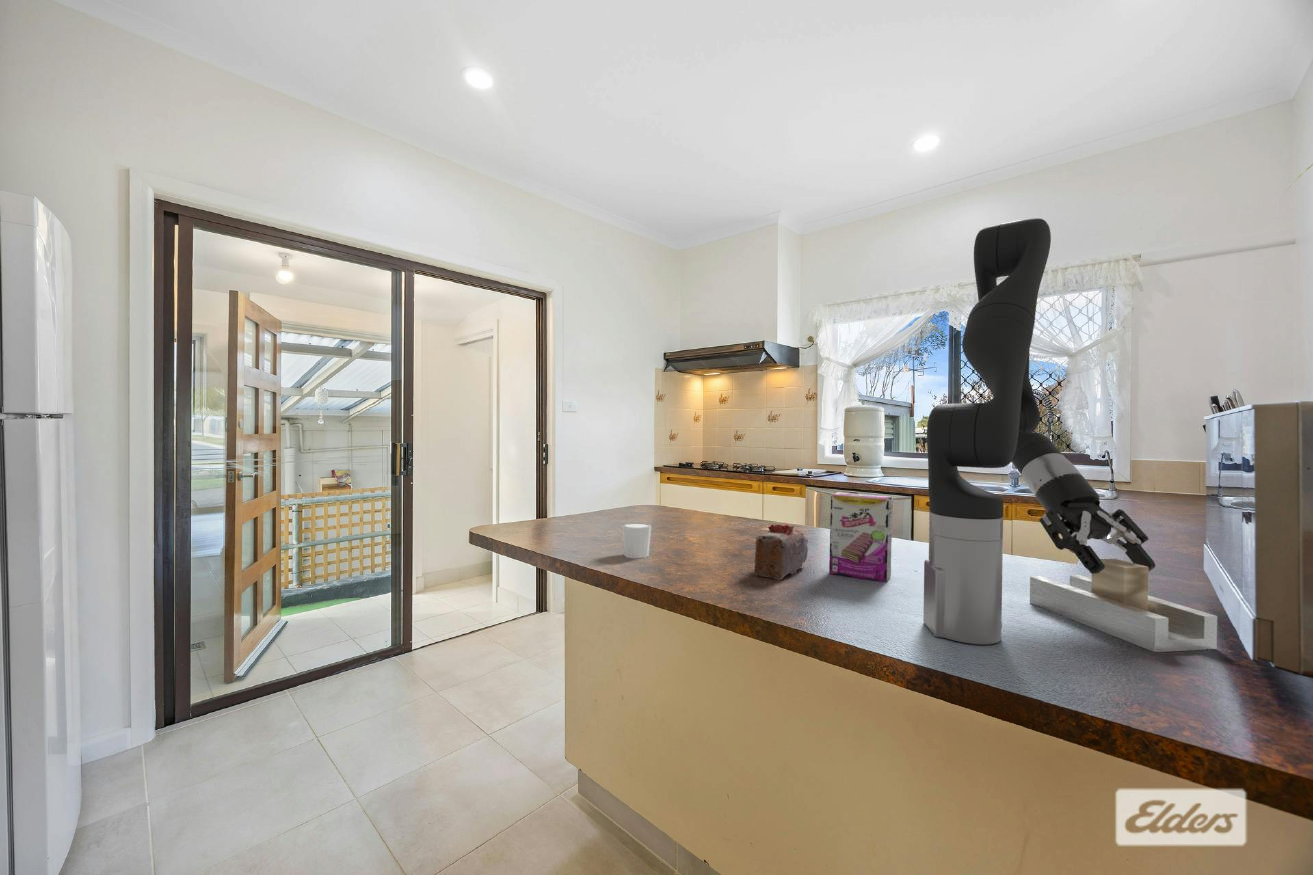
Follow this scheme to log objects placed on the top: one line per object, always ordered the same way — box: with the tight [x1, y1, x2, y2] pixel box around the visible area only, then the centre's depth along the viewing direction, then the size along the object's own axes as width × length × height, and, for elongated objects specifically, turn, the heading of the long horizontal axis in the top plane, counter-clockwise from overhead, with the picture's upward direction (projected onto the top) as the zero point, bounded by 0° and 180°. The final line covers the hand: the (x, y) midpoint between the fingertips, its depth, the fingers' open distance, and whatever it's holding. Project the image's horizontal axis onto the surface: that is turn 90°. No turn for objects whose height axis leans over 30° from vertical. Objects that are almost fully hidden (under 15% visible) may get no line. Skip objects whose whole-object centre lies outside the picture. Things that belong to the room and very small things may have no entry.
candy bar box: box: [828, 491, 894, 583], centre depth 105 cm, size 11×5×16 cm, turn 58°
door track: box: [1029, 574, 1218, 653], centre depth 80 cm, size 10×20×4 cm, turn 7°
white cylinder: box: [621, 522, 652, 559], centre depth 121 cm, size 7×7×7 cm
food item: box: [754, 524, 809, 581], centre depth 108 cm, size 14×8×10 cm, turn 148°
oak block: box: [1091, 558, 1149, 611], centre depth 79 cm, size 4×5×8 cm
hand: (1124, 570), depth 78 cm, fingers open, 8 cm apart
